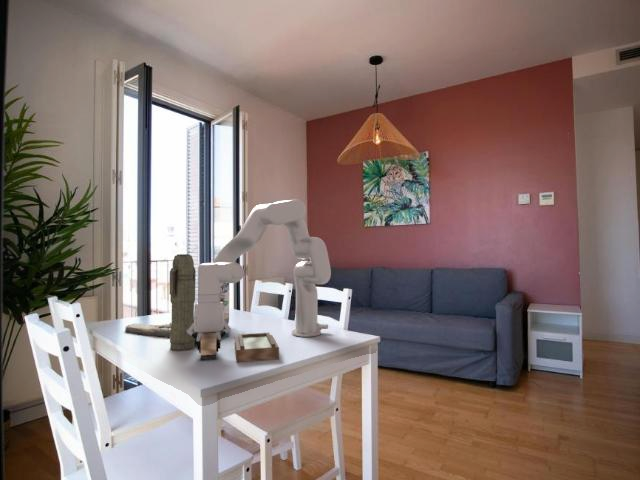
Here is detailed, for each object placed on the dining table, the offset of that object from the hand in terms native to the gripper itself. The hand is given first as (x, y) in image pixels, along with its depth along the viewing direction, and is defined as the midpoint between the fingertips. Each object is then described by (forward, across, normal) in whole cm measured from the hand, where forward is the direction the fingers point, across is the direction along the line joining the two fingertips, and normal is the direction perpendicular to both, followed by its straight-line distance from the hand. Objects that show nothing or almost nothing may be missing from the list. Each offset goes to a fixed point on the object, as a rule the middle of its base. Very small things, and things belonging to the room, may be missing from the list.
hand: (208, 350), depth 129 cm
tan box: (+2, 0, 0) cm, 2 cm away
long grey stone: (+3, +22, -40) cm, 46 cm away
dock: (+2, -16, 0) cm, 16 cm away
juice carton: (+2, -2, -45) cm, 45 cm away
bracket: (+2, 0, -24) cm, 24 cm away
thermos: (+2, +10, -14) cm, 17 cm away
